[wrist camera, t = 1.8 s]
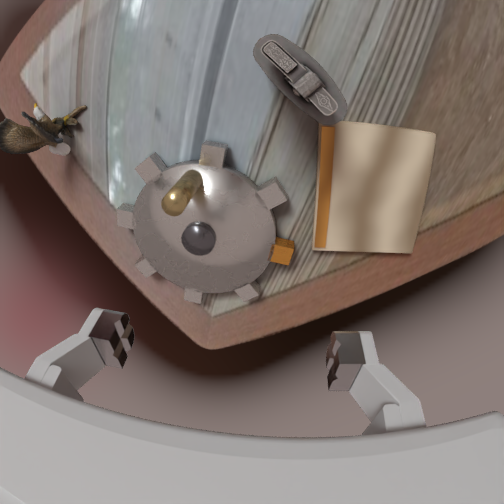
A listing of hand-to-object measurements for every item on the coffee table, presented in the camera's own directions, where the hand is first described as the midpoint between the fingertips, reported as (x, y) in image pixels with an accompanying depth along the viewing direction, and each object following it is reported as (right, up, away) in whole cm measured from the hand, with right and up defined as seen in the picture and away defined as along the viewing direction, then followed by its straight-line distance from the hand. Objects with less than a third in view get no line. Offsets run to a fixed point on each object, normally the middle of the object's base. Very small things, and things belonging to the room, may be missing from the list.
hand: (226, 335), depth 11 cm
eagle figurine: (-21, +18, +16) cm, 32 cm away
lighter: (+5, +19, +13) cm, 24 cm away
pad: (+13, +10, +18) cm, 24 cm away
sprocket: (-4, +6, +22) cm, 24 cm away
